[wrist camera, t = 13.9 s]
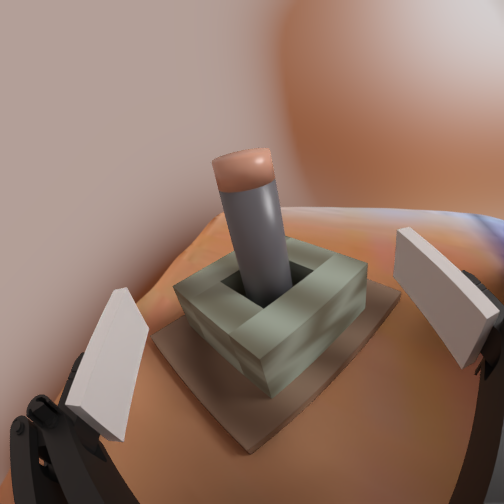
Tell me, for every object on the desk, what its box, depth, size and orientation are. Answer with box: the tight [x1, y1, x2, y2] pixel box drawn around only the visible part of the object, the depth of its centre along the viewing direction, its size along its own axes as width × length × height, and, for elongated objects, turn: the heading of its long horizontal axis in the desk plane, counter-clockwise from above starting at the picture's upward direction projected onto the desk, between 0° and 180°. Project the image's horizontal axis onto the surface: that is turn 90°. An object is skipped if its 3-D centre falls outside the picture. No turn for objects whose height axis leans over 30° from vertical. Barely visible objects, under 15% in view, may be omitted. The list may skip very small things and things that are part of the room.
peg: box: [212, 148, 293, 309], centre depth 22 cm, size 4×4×15 cm
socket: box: [150, 236, 401, 455], centre depth 24 cm, size 20×16×6 cm
